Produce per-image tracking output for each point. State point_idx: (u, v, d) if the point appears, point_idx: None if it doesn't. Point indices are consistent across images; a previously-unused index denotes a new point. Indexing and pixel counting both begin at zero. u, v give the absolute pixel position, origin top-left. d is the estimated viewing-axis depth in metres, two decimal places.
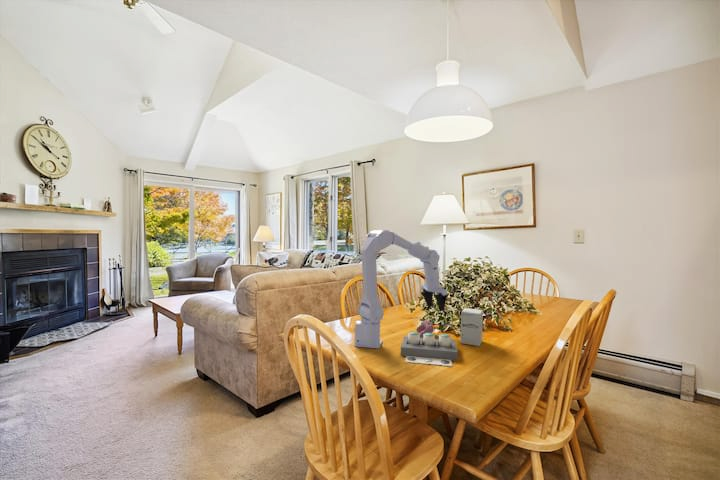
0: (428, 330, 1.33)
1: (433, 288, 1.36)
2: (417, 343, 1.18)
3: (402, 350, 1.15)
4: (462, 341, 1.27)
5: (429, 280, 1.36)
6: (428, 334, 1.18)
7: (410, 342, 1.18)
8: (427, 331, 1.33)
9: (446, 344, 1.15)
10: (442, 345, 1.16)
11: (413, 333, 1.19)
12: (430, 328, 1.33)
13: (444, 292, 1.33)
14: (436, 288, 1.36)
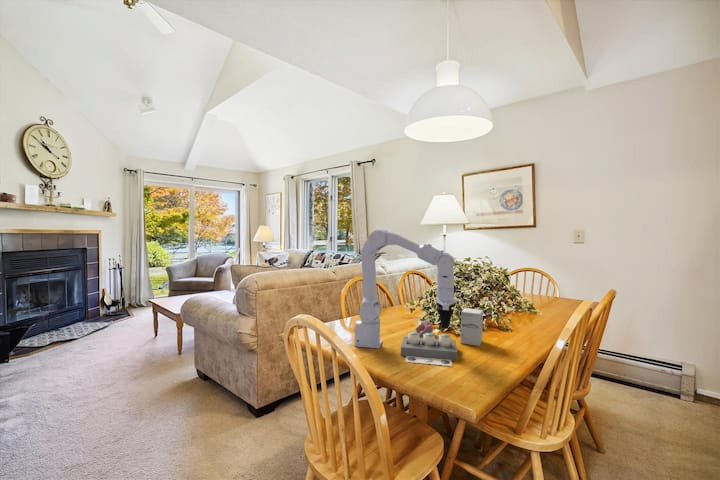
0: (427, 330, 1.33)
1: (440, 299, 1.15)
2: (417, 343, 1.18)
3: (402, 350, 1.15)
4: (462, 341, 1.27)
5: (438, 289, 1.16)
6: (428, 334, 1.18)
7: (410, 342, 1.18)
8: (426, 331, 1.33)
9: (446, 344, 1.15)
10: (442, 345, 1.16)
11: (413, 333, 1.19)
12: (429, 328, 1.33)
13: (444, 306, 1.10)
14: (443, 300, 1.14)
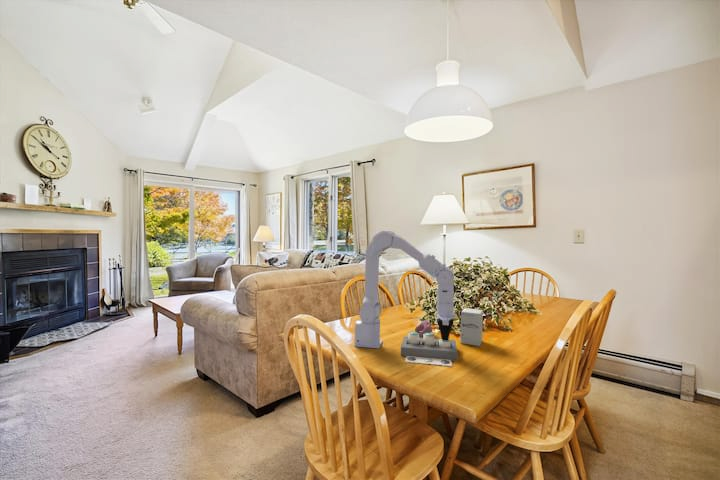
0: (427, 330, 1.33)
1: (440, 314, 1.15)
2: (417, 343, 1.18)
3: (402, 350, 1.15)
4: (462, 341, 1.27)
5: (438, 303, 1.16)
6: (428, 334, 1.18)
7: (410, 342, 1.18)
8: (425, 331, 1.33)
9: None
10: None
11: (413, 333, 1.19)
12: (428, 328, 1.33)
13: (444, 321, 1.10)
14: (443, 315, 1.14)
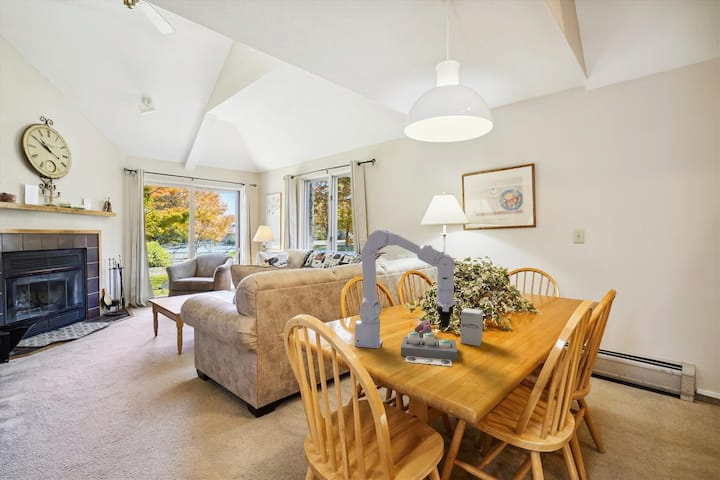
0: (426, 330, 1.33)
1: (440, 301, 1.15)
2: (417, 343, 1.18)
3: (402, 350, 1.15)
4: (462, 341, 1.27)
5: (438, 290, 1.16)
6: (428, 334, 1.18)
7: (410, 342, 1.18)
8: (425, 331, 1.33)
9: None
10: None
11: (413, 333, 1.19)
12: (428, 328, 1.33)
13: (444, 308, 1.10)
14: (443, 302, 1.14)
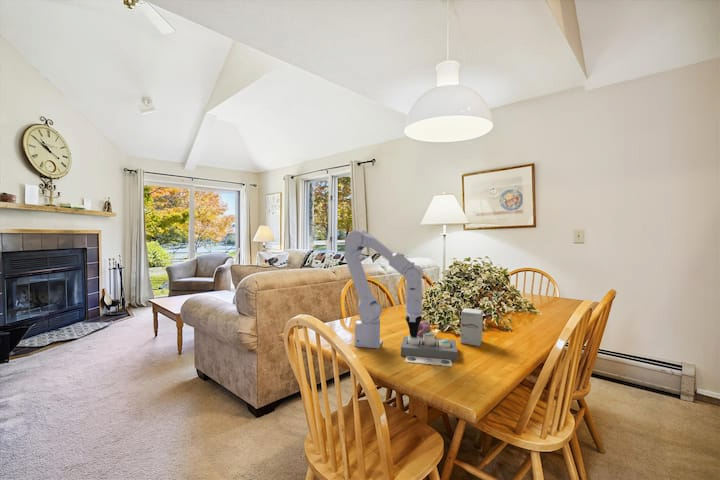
0: (425, 330, 1.33)
1: (408, 311, 1.18)
2: None
3: (402, 350, 1.15)
4: (462, 341, 1.27)
5: (406, 301, 1.19)
6: (428, 334, 1.18)
7: None
8: (424, 331, 1.33)
9: None
10: None
11: None
12: (427, 328, 1.33)
13: (411, 318, 1.12)
14: (411, 312, 1.17)
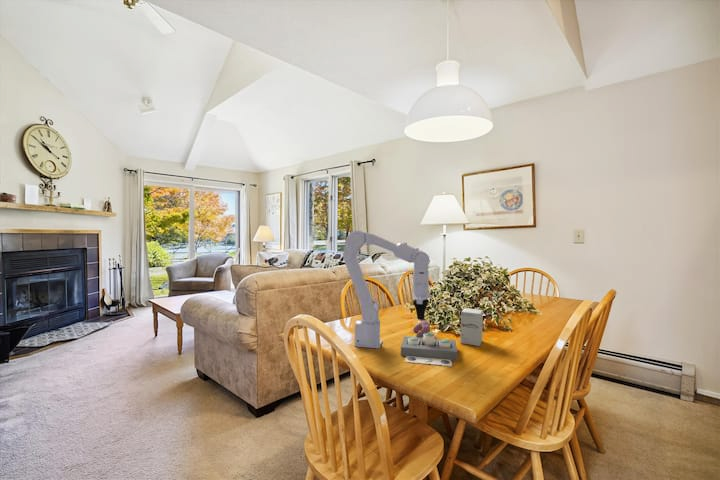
0: (425, 330, 1.33)
1: (415, 294, 1.22)
2: None
3: (402, 350, 1.15)
4: (462, 341, 1.27)
5: (413, 284, 1.23)
6: (428, 334, 1.18)
7: None
8: (424, 331, 1.33)
9: None
10: None
11: (413, 338, 1.19)
12: (427, 328, 1.33)
13: (418, 300, 1.17)
14: (418, 295, 1.21)
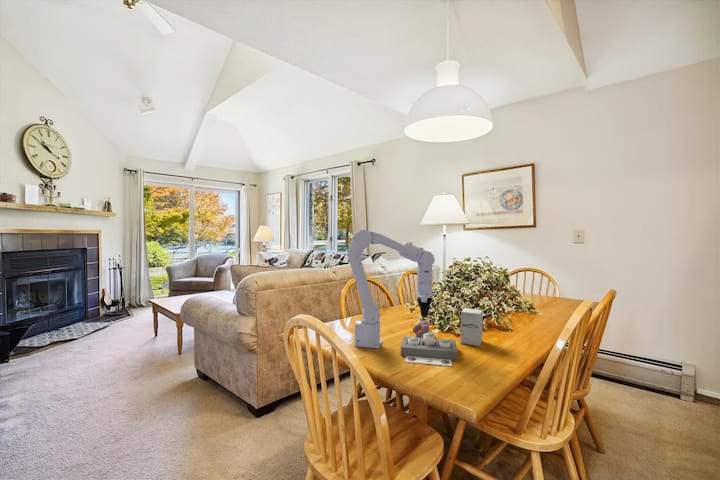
0: (424, 330, 1.33)
1: (419, 292, 1.25)
2: None
3: (402, 350, 1.15)
4: (462, 341, 1.27)
5: (418, 283, 1.26)
6: (428, 334, 1.18)
7: None
8: (423, 331, 1.33)
9: None
10: None
11: (413, 338, 1.19)
12: (426, 328, 1.33)
13: (422, 298, 1.20)
14: (422, 293, 1.24)
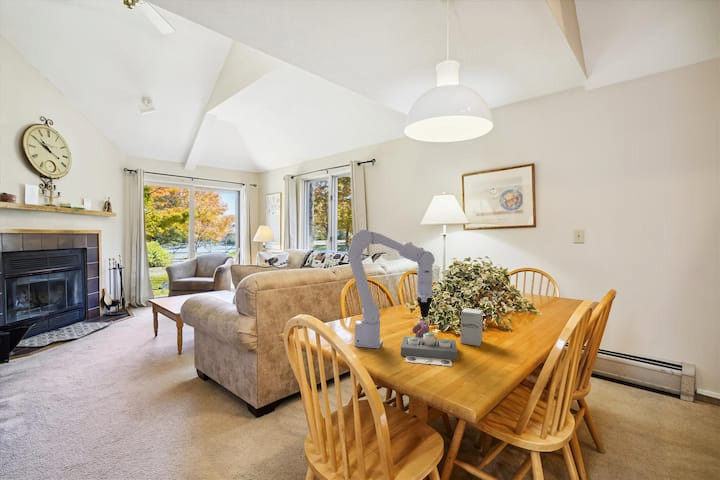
0: (424, 330, 1.33)
1: (419, 292, 1.25)
2: None
3: (402, 350, 1.15)
4: (462, 341, 1.27)
5: (418, 283, 1.26)
6: (428, 334, 1.18)
7: None
8: (423, 331, 1.33)
9: None
10: None
11: (413, 338, 1.19)
12: (426, 328, 1.33)
13: (422, 298, 1.20)
14: (422, 293, 1.24)
